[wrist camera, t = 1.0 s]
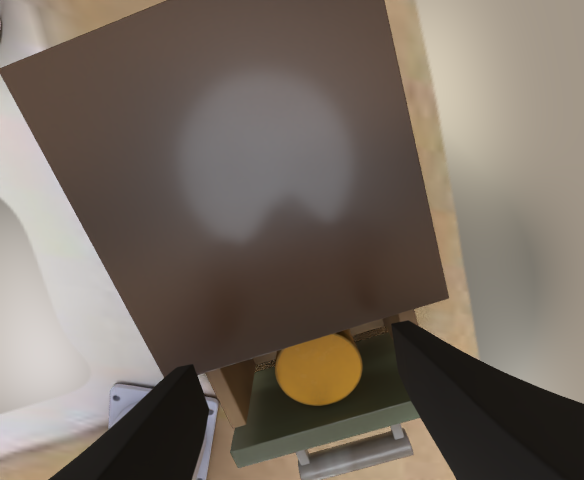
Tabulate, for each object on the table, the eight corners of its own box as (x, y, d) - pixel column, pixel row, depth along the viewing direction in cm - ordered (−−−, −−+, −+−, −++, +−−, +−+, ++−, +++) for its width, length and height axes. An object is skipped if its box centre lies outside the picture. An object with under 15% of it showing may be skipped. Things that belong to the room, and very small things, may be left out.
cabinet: (388, 249, 19) (449, 298, 12) (211, 306, 20) (167, 384, 13) (331, 32, 16) (367, -83, 9) (122, 111, 17) (-3, 69, 9)
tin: (337, 361, 19) (350, 412, 15) (272, 351, 19) (267, 399, 15) (354, 301, 18) (372, 339, 14) (284, 289, 18) (283, 323, 14)
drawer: (421, 394, 21) (469, 475, 15) (273, 436, 22) (268, 527, 16) (360, 169, 17) (396, 170, 11) (180, 231, 18) (131, 260, 12)
